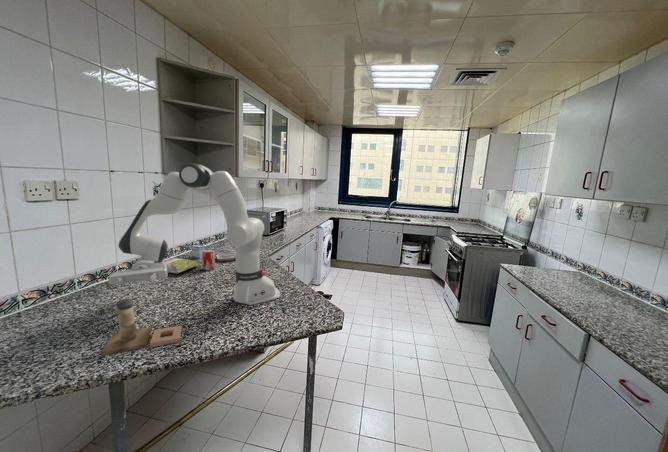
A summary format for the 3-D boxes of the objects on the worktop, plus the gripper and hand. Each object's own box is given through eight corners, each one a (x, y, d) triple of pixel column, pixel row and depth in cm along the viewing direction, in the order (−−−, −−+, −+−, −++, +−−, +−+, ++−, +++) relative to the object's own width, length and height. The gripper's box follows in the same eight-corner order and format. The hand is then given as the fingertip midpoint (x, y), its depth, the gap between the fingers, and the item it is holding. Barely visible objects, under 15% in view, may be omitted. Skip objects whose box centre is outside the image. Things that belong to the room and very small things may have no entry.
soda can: (210, 271, 171) (209, 252, 169) (200, 270, 172) (199, 251, 170) (217, 267, 178) (216, 249, 175) (207, 266, 179) (206, 248, 177)
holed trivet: (182, 328, 108) (181, 325, 108) (179, 341, 100) (179, 337, 99) (154, 333, 104) (154, 329, 104) (150, 347, 96) (149, 343, 96)
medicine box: (191, 257, 197) (190, 245, 195) (196, 256, 201) (196, 244, 199) (199, 259, 194) (199, 247, 192) (205, 257, 198) (204, 245, 196)
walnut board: (152, 329, 107) (151, 326, 106) (145, 347, 96) (145, 344, 96) (113, 335, 102) (113, 332, 102) (102, 355, 91) (101, 352, 91)
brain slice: (240, 262, 191) (240, 257, 191) (214, 263, 186) (214, 259, 186) (241, 254, 210) (241, 250, 209) (217, 255, 205) (217, 251, 204)
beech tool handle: (137, 333, 102) (133, 298, 99) (134, 340, 98) (130, 303, 95) (123, 336, 100) (118, 300, 97) (119, 343, 96) (114, 305, 93)
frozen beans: (179, 267, 158) (142, 263, 163) (179, 277, 159) (143, 273, 164) (203, 258, 179) (169, 255, 183) (203, 267, 180) (169, 263, 184)
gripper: (112, 267, 116) (101, 277, 104) (168, 260, 125) (164, 270, 112) (114, 281, 118) (103, 293, 105) (170, 274, 126) (166, 284, 113)
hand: (135, 281), depth 109 cm, fingers open, 8 cm apart
